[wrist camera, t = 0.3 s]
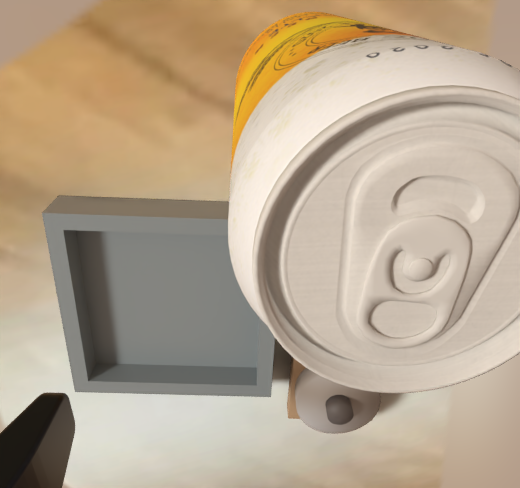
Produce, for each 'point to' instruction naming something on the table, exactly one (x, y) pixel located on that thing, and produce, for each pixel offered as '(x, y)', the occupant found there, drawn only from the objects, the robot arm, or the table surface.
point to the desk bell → (328, 402)
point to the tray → (154, 299)
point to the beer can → (378, 202)
